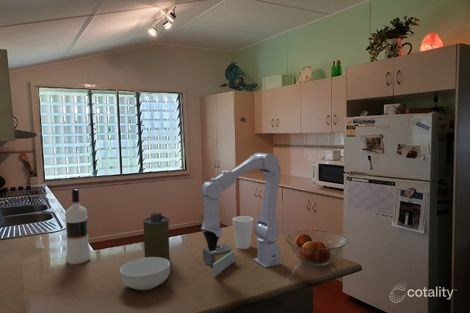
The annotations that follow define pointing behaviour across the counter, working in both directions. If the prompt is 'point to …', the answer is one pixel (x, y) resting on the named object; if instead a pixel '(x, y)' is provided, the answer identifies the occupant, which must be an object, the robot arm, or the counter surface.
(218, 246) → the camera body
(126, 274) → the cereal bowl
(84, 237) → the vodka
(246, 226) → the foam cup
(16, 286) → the counter surface
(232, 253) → the side door
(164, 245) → the canister
